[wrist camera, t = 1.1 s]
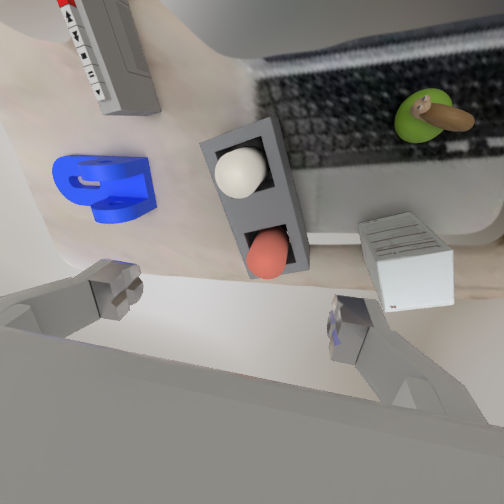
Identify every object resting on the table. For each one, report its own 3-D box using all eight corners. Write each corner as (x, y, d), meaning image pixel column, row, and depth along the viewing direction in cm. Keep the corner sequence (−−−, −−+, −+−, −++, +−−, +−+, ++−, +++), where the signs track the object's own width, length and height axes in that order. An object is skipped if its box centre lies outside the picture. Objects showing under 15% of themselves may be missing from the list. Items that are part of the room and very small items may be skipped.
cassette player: (99, -26, 31) (15, -83, 22) (117, -35, 30) (37, -97, 21) (146, 116, 37) (96, 114, 29) (161, 111, 36) (115, 109, 28)
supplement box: (414, 253, 38) (456, 307, 27) (363, 262, 41) (382, 314, 30) (411, 209, 35) (456, 249, 25) (356, 221, 38) (375, 262, 27)
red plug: (284, 221, 35) (279, 240, 29) (293, 252, 37) (289, 275, 31) (251, 229, 37) (240, 248, 31) (261, 257, 39) (253, 281, 33)
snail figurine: (396, 82, 29) (443, 61, 19) (449, 99, 29) (526, 87, 19) (373, 131, 32) (402, 136, 22) (421, 147, 32) (474, 160, 21)
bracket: (148, 157, 40) (109, 166, 32) (157, 206, 44) (124, 225, 36) (56, 154, 44) (0, 161, 36) (72, 200, 47) (25, 216, 40)
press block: (278, 117, 34) (269, 116, 27) (309, 246, 41) (309, 270, 35) (219, 139, 36) (199, 143, 30) (259, 256, 44) (250, 279, 38)
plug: (261, 140, 31) (250, 144, 25) (272, 179, 33) (265, 192, 27) (225, 152, 32) (207, 159, 27) (238, 189, 34) (224, 203, 29)
